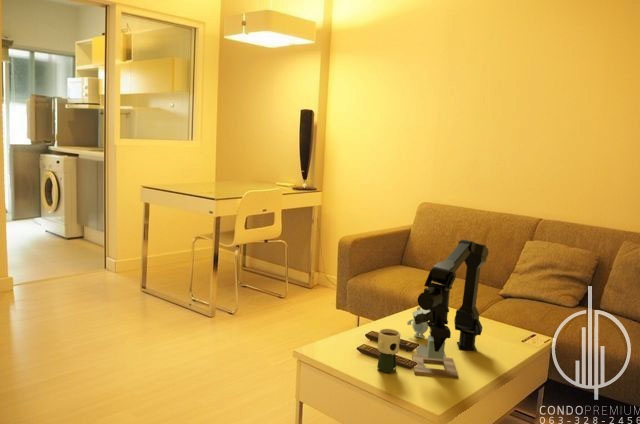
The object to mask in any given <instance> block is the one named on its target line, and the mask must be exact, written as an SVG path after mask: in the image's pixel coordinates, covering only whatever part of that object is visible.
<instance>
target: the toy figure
mask: <svg viewBox="0 0 640 424" xmlns="http://www.w3.org/2000/svg"><path fill="white" fill-rule="evenodd" d="M418 310H421V307H420V306H417V308H416V311H418ZM406 324H407V326H412V329H413V331H414V332H415V333H414V334H413V337H414V338H420V339H425V335H424V334H425V333H426V332H427V331H428V329H429V326H428V324H427V322H424V323H420V324H418V325H416V324H415V321H414V318H413V319H410V320H408V321H407V323H406Z"/></svg>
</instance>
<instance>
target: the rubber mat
mask: <svg viewBox="0 0 640 424" xmlns="http://www.w3.org/2000/svg"><path fill="white" fill-rule="evenodd" d="M415 350H416V355H426V356H428V355H427V344H419V347H418V348H416V347H415ZM446 355H447V354H446V353H445V351H444V357H447V356H446Z"/></svg>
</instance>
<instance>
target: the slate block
mask: <svg viewBox="0 0 640 424" xmlns="http://www.w3.org/2000/svg"><path fill="white" fill-rule="evenodd" d="M426 345H427V355H428V358H435V359H443V357H444V352H445V346H446V340H445V341H444V343H443V345H442V346H441V348H440V349H439V351H438V352H435V348H434V338H433V337H432V336H431V335H429V334H428V336H427V344H426Z"/></svg>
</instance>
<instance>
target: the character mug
mask: <svg viewBox="0 0 640 424" xmlns="http://www.w3.org/2000/svg"><path fill="white" fill-rule="evenodd" d="M400 342H401V332H400V331H399V330H397V329H393V328H382V329H379V330H378V339H377V351H379V352H380V353H379V356H378V361H377V366H376V367H377V369H378V370H380V371H382V372H384V373H394V372H395V371H397V355H396V354H398V353H399V352H400Z"/></svg>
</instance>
